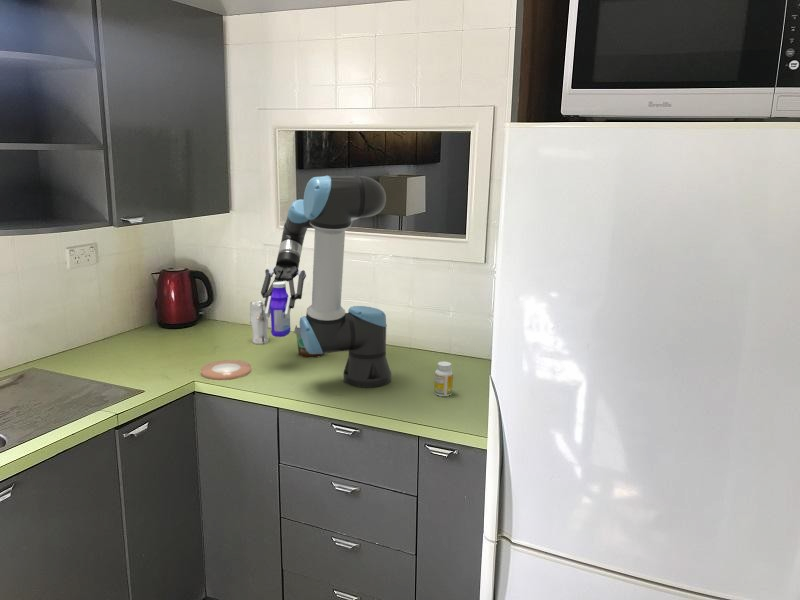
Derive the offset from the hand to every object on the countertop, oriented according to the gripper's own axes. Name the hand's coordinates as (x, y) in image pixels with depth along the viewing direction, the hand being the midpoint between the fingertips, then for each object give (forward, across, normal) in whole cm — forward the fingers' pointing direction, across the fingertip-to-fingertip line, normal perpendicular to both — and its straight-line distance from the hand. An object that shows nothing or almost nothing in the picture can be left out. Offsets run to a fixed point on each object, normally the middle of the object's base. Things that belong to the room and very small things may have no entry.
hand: (277, 315), depth 209 cm
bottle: (+3, 0, -8) cm, 8 cm away
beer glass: (-9, +16, -35) cm, 39 cm away
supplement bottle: (+22, -54, -6) cm, 59 cm away
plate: (+15, +17, -12) cm, 25 cm away
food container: (+1, -6, -26) cm, 26 cm away
